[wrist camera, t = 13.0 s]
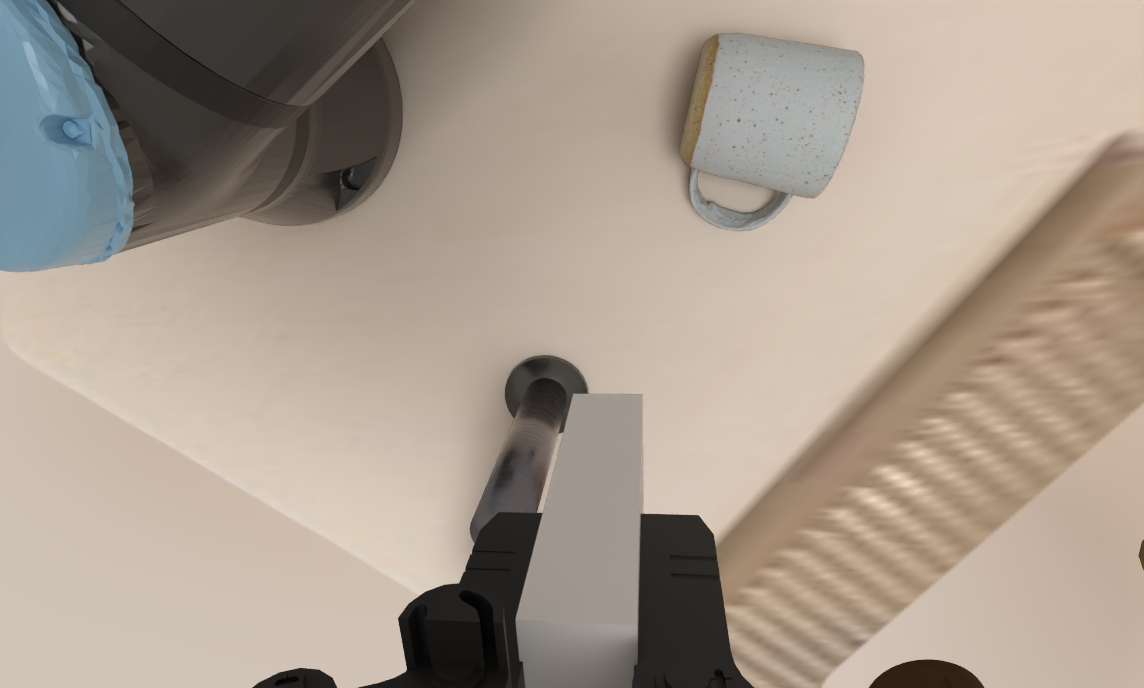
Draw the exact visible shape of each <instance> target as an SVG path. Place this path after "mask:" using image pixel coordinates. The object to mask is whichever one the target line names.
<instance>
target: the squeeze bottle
mask: <svg viewBox="0 0 1144 688" xmlns="http://www.w3.org/2000/svg"><path fill="white" fill-rule="evenodd" d="M1139 558H1140V561H1141V564H1142V567H1143V569H1144V540H1143V541H1142V544H1141V548H1140V552H1139Z"/></svg>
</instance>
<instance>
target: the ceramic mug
mask: <svg viewBox="0 0 1144 688" xmlns="http://www.w3.org/2000/svg"><path fill="white" fill-rule="evenodd" d="M863 85H864V60H863V57H862V55H861V54H860V53H859V52H857V51H853V50H846V49H839V48H831V47H826V46H820V45H814V44H807V43H801V42H794V41H786V40H778V39H772V38H767V37H761V36H756V35H749V34H717V35H714V36H712V37H711V38H709V39H708V40H707V41H706V42H705V44H704V46H703V49H702V53H701V57H700V61H699V65H698V70H697V74H696V78H695V82H694V86H693V90H692V95H691V99H690V104H689V108H688V113H687V117H686V121H685V126H684V130H683V135H682V139H681V144H680V149H679V153H680V157H681V159H682V160H683V161H684V163H686V164H687V165H689V166H691V167H692V168H691V176H690V187H689V191H690V197H691V202H692V205H693V206H694V208H695V210H696V211H697V213H698V214H699V215H700V216H701V217H702V218H703V219H704V220H706V221H707V222H709V223H711V224H713V225H714V226H717V227H720V228H723V229H727V230H732V231H748V230H752V229H756V228H758V227H760V226H762V225H764V224H766V223H768V222H769V221H770V220H772V219H773V218H774V217H775V216H776V215H778V214H779V213H780V212H781V211H782V209H783V208H784V207H785V206H786V205H787V203H788V202H789V200H790V199H791V197H792V195H796V196H800V197H804V198H815V197H817V196H818V195H819V194H820V193H821V192H822V191H823V190H824V189H825V187H826V186H827V185H828V183H829V182H830V180H831V178H832V176H833V174H834V172H835V170H836V168H837V166H838V165H839V162H840V160H841V158H842V155H843V153H844V151H845V148H846V145H847V143H848V140H849V137H850V134H851V132H852V127H853V125H854V121H855V117H856V114H857V110H858V107H859V103H860V99H861V95H862V91H863ZM699 170H700V171H702V172H705V173H708V174H712V175H716V176H720V177H724V178H730V179H735V180H740V181H744V182H747V183H751V184H755V185H758V186H762V187H766V188H769V189H774V190H778V191H781V192H780V194H779V195H778V196H777V197H776V198H775V199H774V200H773V201H772V202H771V203H770V204H769V205H768V206H767V207H765V208H763V209H762V210H760V211H757V212H755V213H750V214H749V213H745V214H742V213H737V212H734V211H731V210H728V209H724V208H722V207H719V206H717V205H716V204H715V203H711V202H706V201H705V199H704V198H703V197H702V195H701V193H700V191H699V189H698V179H697V177H698V172H699Z"/></svg>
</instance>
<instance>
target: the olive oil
mask: <svg viewBox="0 0 1144 688" xmlns="http://www.w3.org/2000/svg"><path fill="white" fill-rule="evenodd" d="M869 688H984V686H983V685H982V683H981V682H980V681H979V680H978V678H977V677H976V676H974V675H973V674H972V673H971V672H969V671H968V670H966V669H965V668H963V667H961V666H958V665H956V664H953V663H950V662H945V661H939V660H916V661H910V662H906V663H902V664H900V665H897V666H895V667H892V668H890V669H889V670H887V671H886V672H884V673H882V674H881V675H880V676H879V677H877V678H876V679H875V680H874V682H873V683H872V684H871V685H870V687H869Z"/></svg>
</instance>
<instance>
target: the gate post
mask: <svg viewBox="0 0 1144 688" xmlns="http://www.w3.org/2000/svg"><path fill="white" fill-rule="evenodd" d="M573 394H589V393H588V387H587V384H586V381H585V379H584V377H583V376H582V374H581V373H580V372H579V371H578V370H577V369H576V368H575V367H574V366H573V365H572V364H570V363H569V362H567V361H565V360H563V359H560V358H557V357H553V356H537V357H533V358H530V359H527V360H525V361H524V362H522V363H520V364H519V365H518V366H517V367H516V368H515V369H514V370H513V372H512V373H511V375H510V377H509V379H508V381H507V384H506V388H505V399H506V404H507V407H508V409H509V411H510V413H511V415H512V416H513V417H514V421H513V424H512V426H511V428H510V431H509V433H508V436H507V438H506V440H505V443H504V445H503V448H502V450H501V452H500V455H499V457H498V459H497V462H496V464H495V467H494V469H493V471H492V474H491V476H490V479H489V481H488V483H487V486H486V488H485V490H484V493H483V495H482V498H481V500H480V502H479V505H478V507H477V510H476V512H475V514H474V517H473V519H472V522H471V525H470V534H471V537H472V539H473V541H474V543H475V542H476V540H477V537H478V534H479V532H480V529H481V528H483V527H484V526H485V525H486V524H487V523H488V522H489V521H490V520H491V519H492V518H493V517H494V516H495V515H496V514H497V513H498V512H521V513H537V510H538V506H539V503H540V499H541V495H542V491H543V488H544V484H545V480H546V477H547V473H548V469H549V466H550V462H551V458H552V455H553V451H554V447H555V444H556V440H557V436H558V433H562V432H564V428H565V424H566V420H567V416H568V412H569V408H570V405H571V401H572V397H573Z"/></svg>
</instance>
